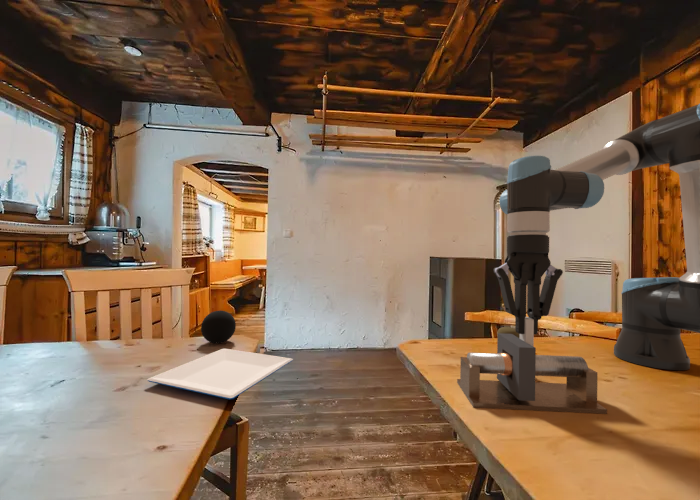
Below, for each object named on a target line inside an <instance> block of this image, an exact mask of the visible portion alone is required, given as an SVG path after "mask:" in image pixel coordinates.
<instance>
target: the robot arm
mask: <svg viewBox="0 0 700 500" xmlns="http://www.w3.org/2000/svg"><path fill="white" fill-rule="evenodd" d="M666 164H668V165H669V170H671V171H673V172H675V173H677V175H678V176H679V177H678V178H679V189H680V191H679V192H680V200H681V214H682V223H683V224H682V225H683V237H684V247H685V249H684V252H685V261H686V262H685V263H686V272H685V273H683V275H681V276H680V277H673V276H672V277H671V276H667V277H666V276H665V277H664V276H663V277H634V278H627V279H625V280H624V281H623V283H622V291H621V331H620V333H619V335H618V337H617V339H616V342H615V344H614V346H613V355H614V356H615V357H617V358H618V359H621V360H623V361H626V362H629V363H631V364H636V365H640V366H645V367H649V368H655V369H661V370H662V369H663V370H666V371H667V370H668V371H669V370H670V371H686V370H690V368H691V358H690V357H689V355H688V353H687V351H686V348H685V345H684V342H683V340H682V337H681V330H683V331H684V330H685V331H689V332H693V333H694V332H695V333H700V103H698V104H695V105H693V106H691V107H688V108H685V109H682V110H679V111H677V112H674V113H671V114H669V115H666V116H663V117H660V118H657V119H655V120H651V121H649V122H646V123H645V124H643V125H640V126H638V127H637V128H635V129H633V130H631V131H629V132H627V133H625V134H623V135H621V136H620V137H618V138H616V139H614V140H611V141H610V142H609V141H608V143H606V144H605V145H604V146H603V147H602V148H601V149H600V150H598V151H595V152H593V153H591V154H589V155H586V156H584V157H581V158H579V159H577V160H575V161H573V162H569V163H567V164H565V165H563V166H560V167H558V168H556V169H552V165H551V160H550V158H549V157H546V156H545V155H529V156H523V157H520V158H517V159H514V160H512V161H511V162H510V163H509V165H508V168H507V180H506V188H507V189H505V190H504V191H503V192H502V193H501V195H500V196H499V200H498V201H499V202H498V203H499V206H500V209H501V211H502V212H503V213H504V214H505V215H507V217H506V218H507V219H506V221H507V224H506V226H507V227H506V228H507V229H506V232H507V233H508V234H509V235H508V236H506V258H505V259H504V263H503V264H502V265H500V266H498V267H494V268H493V270H492V271H493V273H494V274H495V276H496V277H497V280H498V284H499V287H500V293H501V297H502V300H503V301H502V302H503V304H504V305H503V306H504V309H505V312H506V313H508V314H509V315H512V316H514V318H515V325H514V326H515V330H516V332H517V333H519V334H520V337H519V338H520V339H521V340H523V341H525V342H526V343H528V344H530V345H532V346H533V347H535V346H534V344H535V343H534V341H535V340H534V339H535V338H534V336H535V335H538V332H539V321H540V320H541V319H542V317H548V316H549V314H550V311H551V306H552V303H553V299H554V295H555V293H556V288H557V285H558V281H559V280H560V278H561V277H562V275H563V273H564V271H563V269H561V268H557V267H555V266H553V265H552V264H551V260H550V258H549V253H550V236H549V235H547V233H549V232H550V230H551V229H550V225H551V224H550V222H551V221H550V212H551V211H557V210H564V209H575V210H578V209H589V208H592V207H594V206H595V205H597V204H598V203H600V201H601V200H602V197H604V194H605V182H604V180H606V179H608V178H610V177H613V176H621V175H622V176H624V175H627V174H628V173H630V172H634V171H637V170H640V169H641V170H642V169H645V168H652V167H655V166H656V167H657V166H661V165H666ZM509 273H511V275H512V276H513V283H514V294H513V290H512V286H511V281H510V278H509ZM544 275H545V277H544V280H543V282H542V277H543V276H544ZM542 283H543V284H542ZM541 284H542V287H541ZM540 288H541V290H540Z"/></svg>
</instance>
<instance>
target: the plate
mask: <svg viewBox="0 0 700 500" xmlns="http://www.w3.org/2000/svg"><path fill="white" fill-rule="evenodd" d="M293 360H294V358H291V357H284V356H283V357H282V356H279V355H278V356H276V355H272V354H271V355H270V354H265V353H258V352H257V353H256V352H253V351H251V352H250V351H244V350H238V349H232V348H231V349H230V348H221V349H219V350H216V351H213V352H210V353H208V354H206V355H203V356H201V357H198V358H195V359H194V360H190V361H188V362H186V363H183V364H181V365H179V366H175V367H173V368H171V369H168V370H166V371H163V372H161V373H159V374H158V373H157V374H156V375H154V376H153V375H152V376H151V377H149V378H147V379H146V381H147V382H148V383H149V382H150V383H153V384H157V385H162V386H167V387H171V388H176V389H180V390H186V391H189V392H190V391H191V392H194V393H199V394H202V395H203V394H204V395H208V396H212V397H215V398H216V397H217V398H221V399H226V400H235V398H237V397H238V396H240V395H241V394H243V393H245V392H246V391H248V390H249V389H251V388H252V387H253V386H255V385H257V384H258V383H260V382H262V381H263V380H264V379H266V378H268V377H269V376H271V375H273V374H274V373H276V372H278V371H279V370H281V369H282V368H284V367H285V366H287V365H288V364H290V363H292V362H293Z"/></svg>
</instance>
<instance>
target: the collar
mask: <svg viewBox="0 0 700 500" xmlns="http://www.w3.org/2000/svg"><path fill="white" fill-rule="evenodd" d="M496 344H497V347H496V348H497V350H496V352H497V353H496V354H498V353H509V354H510V355H512V356H513V376H511V375H501V374H496V378H497V381H500V382H501V383H502V384H503V385H504V386H505V387H506V388H507V389H508V390H509V391H510V392H511V393H512V394H513V395H514V396H515V397H516V398H517V399H518V400H524V401H535V382H536V376H535V364H536V355H537V354H536V352H537V351H536V350H537V349H536V347H535V346H534V347H533V346H532V345H530V344H528V343H526V342H525V341H523V340H521V339H520V338H518V337H516V336H515V335H513V334H504V333H498V336H497V343H496Z"/></svg>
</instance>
